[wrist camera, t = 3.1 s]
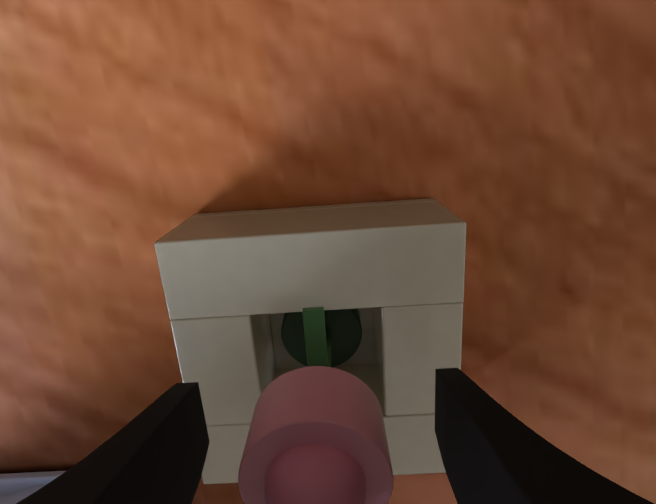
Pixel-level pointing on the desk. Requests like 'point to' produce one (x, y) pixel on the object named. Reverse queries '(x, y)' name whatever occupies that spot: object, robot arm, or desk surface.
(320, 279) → the beige square socket block
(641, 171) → the desk surface
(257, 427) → the flower
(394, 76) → the desk surface
